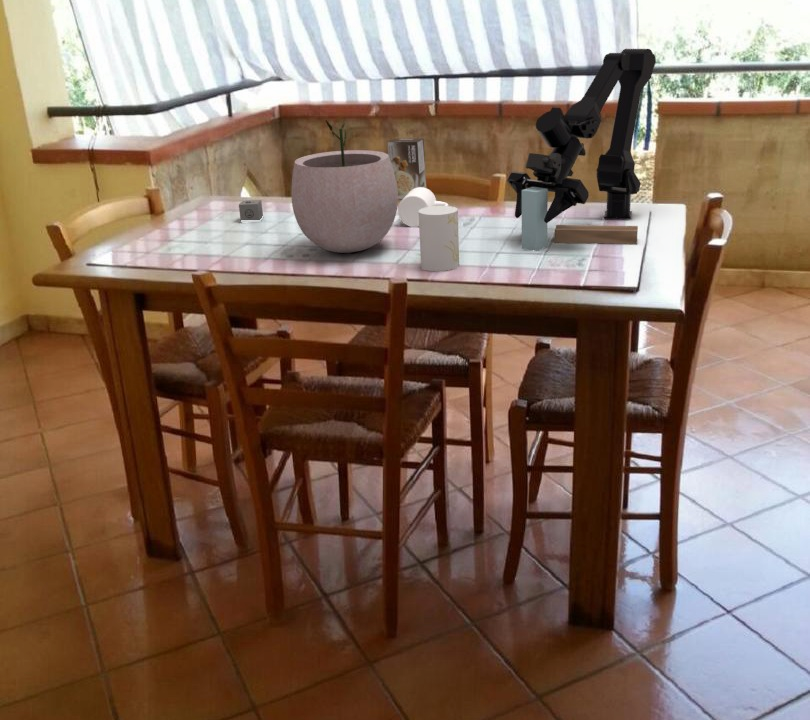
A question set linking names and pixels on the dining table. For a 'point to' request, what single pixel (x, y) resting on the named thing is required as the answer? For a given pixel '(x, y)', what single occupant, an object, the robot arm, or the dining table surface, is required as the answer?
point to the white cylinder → (439, 238)
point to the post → (534, 218)
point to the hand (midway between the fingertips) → (530, 219)
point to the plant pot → (344, 197)
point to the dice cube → (251, 210)
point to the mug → (416, 205)
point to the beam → (596, 234)
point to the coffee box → (407, 164)
